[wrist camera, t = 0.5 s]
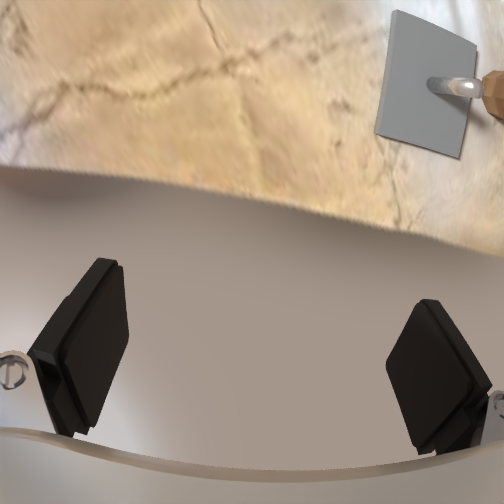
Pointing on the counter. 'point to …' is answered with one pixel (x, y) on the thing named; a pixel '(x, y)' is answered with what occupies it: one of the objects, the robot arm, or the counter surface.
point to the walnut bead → (494, 93)
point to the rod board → (424, 85)
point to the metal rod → (456, 86)
